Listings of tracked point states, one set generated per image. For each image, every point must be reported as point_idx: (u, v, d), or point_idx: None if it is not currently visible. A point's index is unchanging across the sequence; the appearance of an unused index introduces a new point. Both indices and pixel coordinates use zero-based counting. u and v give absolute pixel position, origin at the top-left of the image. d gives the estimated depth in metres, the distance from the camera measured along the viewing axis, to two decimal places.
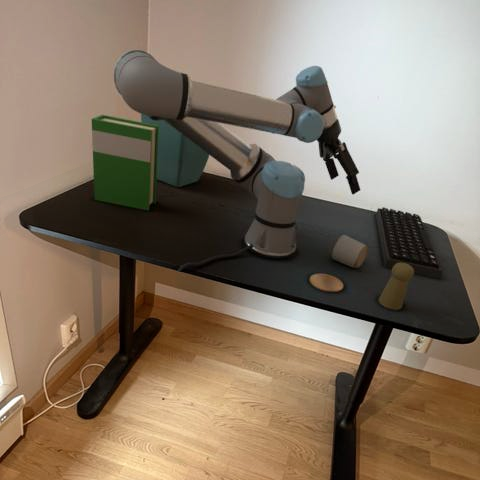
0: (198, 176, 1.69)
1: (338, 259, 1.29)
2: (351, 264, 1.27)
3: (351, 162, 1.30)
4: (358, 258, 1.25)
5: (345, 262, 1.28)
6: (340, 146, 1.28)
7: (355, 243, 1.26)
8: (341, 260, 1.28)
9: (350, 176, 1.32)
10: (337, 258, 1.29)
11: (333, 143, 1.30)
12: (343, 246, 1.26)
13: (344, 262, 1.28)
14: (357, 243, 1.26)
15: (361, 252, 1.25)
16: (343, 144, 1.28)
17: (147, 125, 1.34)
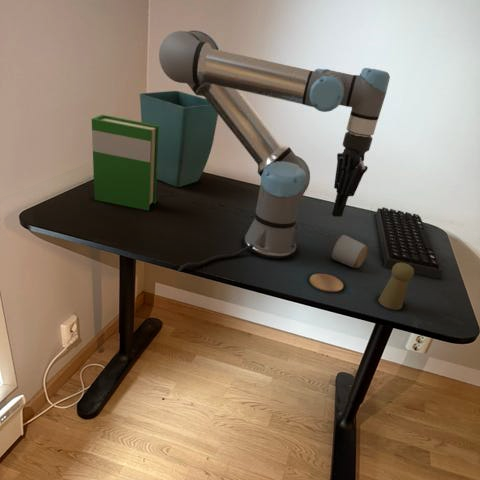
0: (198, 176, 1.69)
1: (338, 259, 1.29)
2: (351, 264, 1.27)
3: (355, 185, 1.27)
4: (358, 258, 1.25)
5: (345, 262, 1.28)
6: (362, 168, 1.22)
7: (355, 243, 1.26)
8: (341, 260, 1.28)
9: (344, 194, 1.29)
10: (337, 258, 1.29)
11: (358, 155, 1.22)
12: (343, 246, 1.26)
13: (344, 262, 1.28)
14: (357, 243, 1.26)
15: (361, 252, 1.25)
16: (365, 168, 1.23)
17: (147, 125, 1.34)
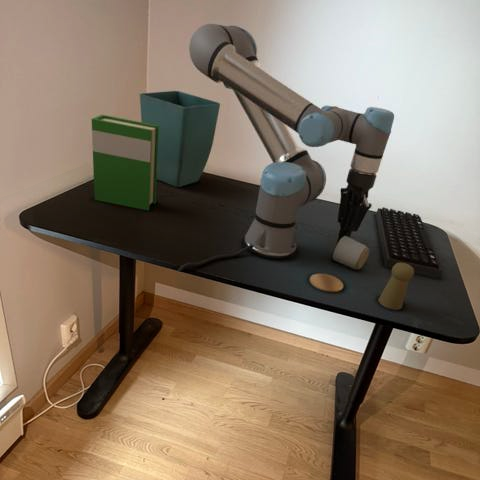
0: (198, 176, 1.69)
1: (340, 260, 1.28)
2: (352, 265, 1.26)
3: (359, 221, 1.26)
4: (359, 259, 1.24)
5: (346, 263, 1.27)
6: (366, 206, 1.22)
7: (356, 244, 1.25)
8: (342, 261, 1.28)
9: (348, 229, 1.29)
10: (338, 259, 1.28)
11: (362, 192, 1.22)
12: (344, 247, 1.26)
13: (345, 263, 1.28)
14: (358, 244, 1.26)
15: (362, 253, 1.24)
16: (369, 206, 1.22)
17: (147, 125, 1.34)
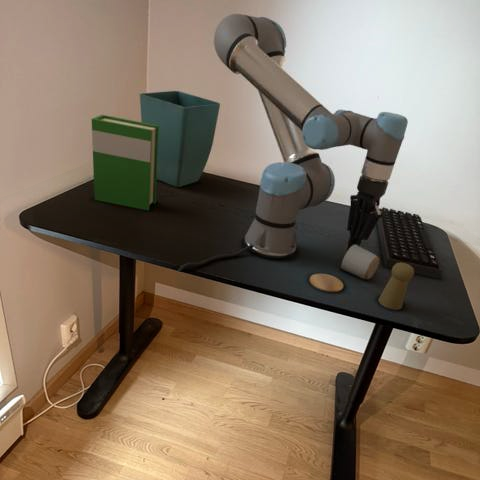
0: (198, 176, 1.69)
1: (348, 270, 1.24)
2: (361, 275, 1.22)
3: (370, 230, 1.22)
4: (368, 269, 1.20)
5: (355, 273, 1.23)
6: (377, 214, 1.18)
7: (366, 253, 1.21)
8: (351, 271, 1.24)
9: (358, 238, 1.24)
10: (347, 268, 1.24)
11: (373, 200, 1.18)
12: (353, 256, 1.22)
13: (354, 273, 1.23)
14: (368, 253, 1.21)
15: (372, 263, 1.20)
16: (381, 214, 1.18)
17: (147, 125, 1.34)
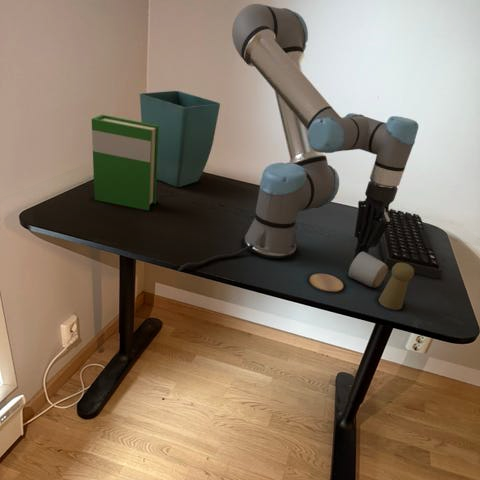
0: (198, 176, 1.69)
1: (356, 277, 1.21)
2: (369, 283, 1.19)
3: (378, 237, 1.19)
4: (376, 277, 1.17)
5: (362, 281, 1.20)
6: (386, 221, 1.14)
7: (374, 261, 1.18)
8: (358, 278, 1.20)
9: (366, 245, 1.21)
10: (354, 276, 1.21)
11: (382, 206, 1.15)
12: (361, 264, 1.18)
13: (361, 281, 1.20)
14: (376, 261, 1.18)
15: (380, 271, 1.17)
16: (390, 221, 1.15)
17: (147, 125, 1.34)
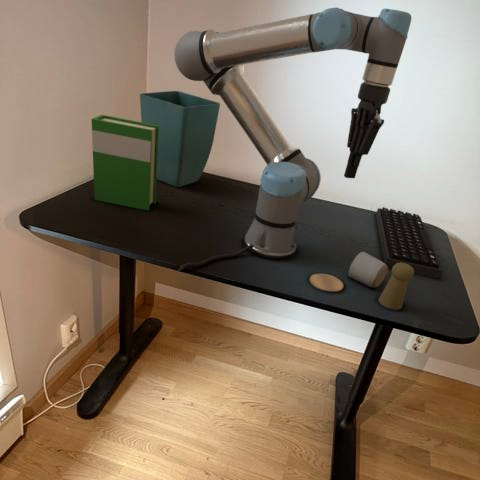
0: (198, 176, 1.69)
1: (356, 277, 1.21)
2: (369, 283, 1.19)
3: (370, 142, 1.17)
4: (376, 277, 1.17)
5: (362, 281, 1.20)
6: (378, 122, 1.13)
7: (374, 261, 1.18)
8: (358, 278, 1.20)
9: (358, 152, 1.19)
10: (354, 276, 1.21)
11: (374, 107, 1.13)
12: (361, 264, 1.18)
13: (361, 281, 1.20)
14: (376, 261, 1.18)
15: (380, 271, 1.17)
16: (381, 122, 1.13)
17: (147, 125, 1.34)
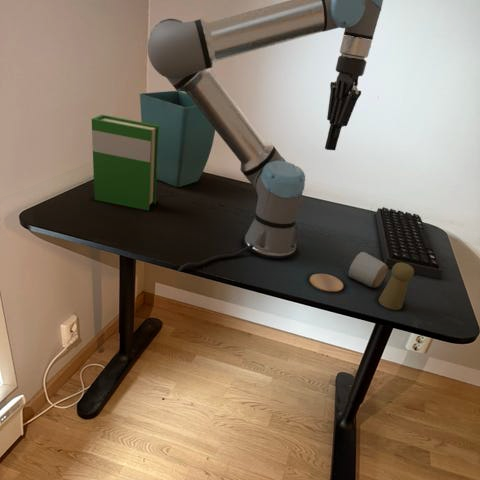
0: (198, 176, 1.69)
1: (356, 277, 1.21)
2: (369, 283, 1.19)
3: (349, 113, 1.22)
4: (376, 277, 1.17)
5: (362, 281, 1.20)
6: (355, 93, 1.18)
7: (374, 261, 1.18)
8: (358, 278, 1.20)
9: (337, 123, 1.24)
10: (354, 276, 1.21)
11: (352, 79, 1.18)
12: (361, 264, 1.18)
13: (361, 281, 1.20)
14: (376, 261, 1.18)
15: (380, 271, 1.17)
16: (359, 93, 1.18)
17: (147, 125, 1.34)
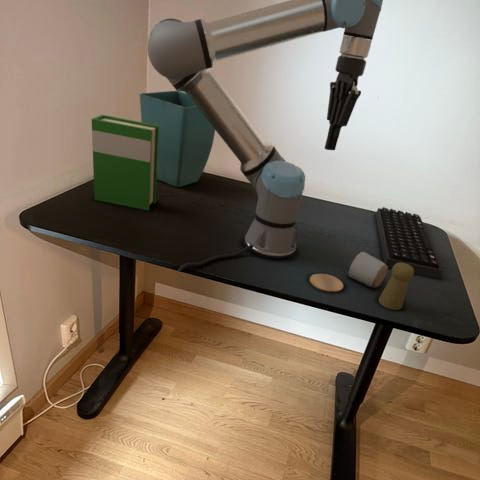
0: (198, 176, 1.69)
1: (356, 277, 1.21)
2: (369, 283, 1.19)
3: (348, 113, 1.22)
4: (376, 277, 1.17)
5: (362, 281, 1.20)
6: (355, 93, 1.18)
7: (374, 261, 1.18)
8: (358, 278, 1.20)
9: (337, 123, 1.24)
10: (354, 276, 1.21)
11: (351, 79, 1.18)
12: (361, 264, 1.18)
13: (361, 281, 1.20)
14: (376, 261, 1.18)
15: (380, 271, 1.17)
16: (358, 93, 1.18)
17: (147, 125, 1.34)
